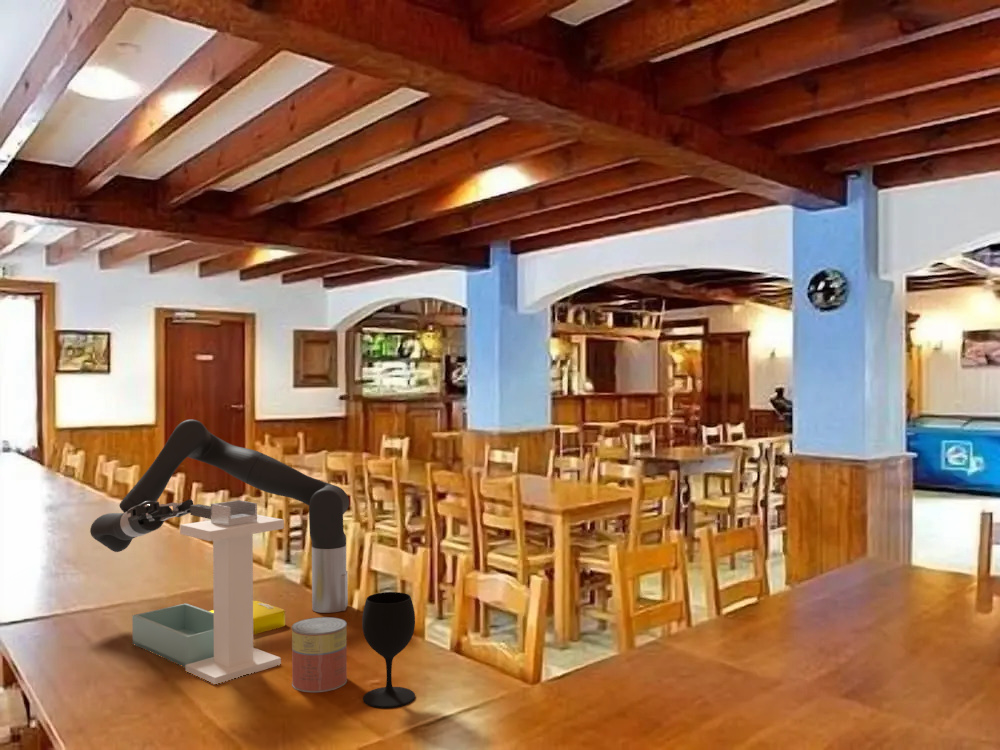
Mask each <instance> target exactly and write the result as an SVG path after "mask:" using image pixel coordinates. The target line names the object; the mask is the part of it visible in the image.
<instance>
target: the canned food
mask: <svg viewBox="0 0 1000 750" xmlns="http://www.w3.org/2000/svg"><path fill="white" fill-rule="evenodd" d="M347 625H348V622H347V621H346V620H344V619H343V618H338V617H333V616H332V617H331V616H330V617H327V616H322V617H320V616H319V617H311V618H310V617H309V618H305V619H301V620H298V621H296V622H295V623H293V624H292V625H291V650H292V653H291V657H292V659H291V662H292V667H291V668H292V670H291V671H292V672H291V673H292V675H291V677H292V680H291V681H292V682H291V686H292V688H293V689H295V690H296V691H298V692H304V693H324V692H329V691H330V692H331V691H333V690H337V689H339V688H341V687H343V686H344V685H346V684H347V682H348V675H347V673H348V672H347V665H348V664H347V662H348V661H347V660H348V659H347Z"/></svg>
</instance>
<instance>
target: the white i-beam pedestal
mask: <svg viewBox="0 0 1000 750" xmlns="http://www.w3.org/2000/svg"><path fill="white" fill-rule="evenodd" d="M284 525H285V519H284V518H283V519H282V518H277V517H272V516H267V515H261V514H257V522H254V523H248V524H242V525H235V526H229V527H228V526H223V525H219V524H214V523H211V519H208V520H203V521H197V522H196V521H195V522H189V523H183V524H179V528H180V529H179V534H180V535H182V536H187V537H191V538H195V539H199V540H203V541H207V542H212V558H213V561H212V565H213V566H212V567H213V569H212V571H213V572H212V574H213V577H212V578H213V581H212V583H213V585H212V586H213V592H212V593H213V594H212V595H213V596H212V597H213V601H212V602H213V603H212V604H213V610H214V657H211V658H208V659H204V660H201V661H197V662H194V663H190V664H187V665H185V668H184V669H185V671H187V672H189V673H192V674H194V675H196V676H198V677H200V678H199V679H201V678H203V679H205V680H207V681H209V682H211V683H210V684H212V683H213V684H212V685H214V684H217V685H219V684H218V683H220V684H222V683H221V682H223V683H226V682H229V681H228V680H230V681H232V680H231V679H233V680H235V679H234V678H236V679H239V678H241V677H240V676H242V677H244V676H243V675H246V674H249V675H252V674H255V673H258V672H262V671H264V670H267V669H271V668H274V667H278V666H280V664H281V665H282V660H281V659H282V658H281V657H280V656H277V655H275V654H272V653H270V652H267V651H264V650H261V649H259V648H255V647H254V634H253V601H254V563H253V562H254V557H253V555H254V551H253V549H254V548H253V547H254V546H253V541H254V540H253V539H254V538H253V536H254V535H255V534H261V533H266V532H273V531H277V530H279V531H280V530H282V529H285V526H284ZM277 665H278V666H277ZM187 672H186V673H187ZM254 672H255V673H254ZM189 673H188V674H189ZM251 673H252V674H251ZM192 674H191V675H192ZM194 675H193V676H194ZM196 676H195V677H196ZM246 676H247V675H246ZM198 677H197V678H198ZM238 677H239V678H238ZM203 679H202V680H203ZM205 680H204V681H205ZM207 681H206V682H207ZM225 681H226V682H225ZM209 682H208V683H209Z"/></svg>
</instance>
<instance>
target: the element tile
mask: <svg viewBox="0 0 1000 750" xmlns="http://www.w3.org/2000/svg"><path fill="white" fill-rule="evenodd" d="M209 611H210V612H213V613H214V609H212V610H209ZM285 626H286V610H285V609H283V608H280V607H278V606H274V605H272V604H268V603H265V602H264V601H263V602H262V601H259V600H253V635H257V634H260V633H264V632H269V631H272V629H273V630H276V628H277V629H279V628H283V627H285Z"/></svg>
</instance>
